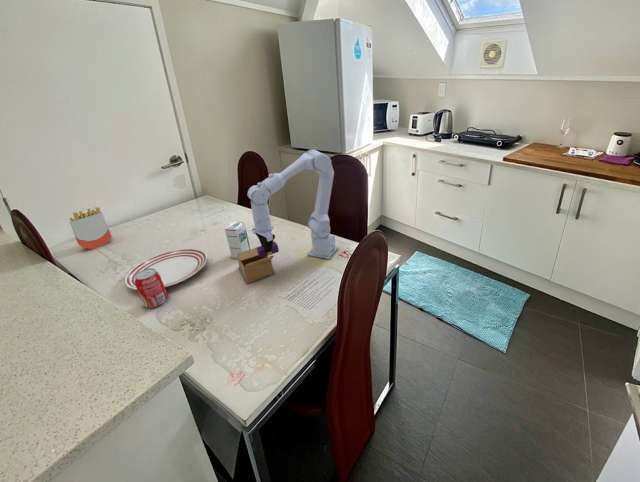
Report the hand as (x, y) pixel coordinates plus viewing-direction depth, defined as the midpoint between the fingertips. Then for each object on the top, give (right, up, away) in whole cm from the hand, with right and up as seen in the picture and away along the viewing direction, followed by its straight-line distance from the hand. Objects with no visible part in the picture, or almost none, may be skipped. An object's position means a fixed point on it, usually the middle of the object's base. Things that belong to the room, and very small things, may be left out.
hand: (267, 249), depth 119 cm
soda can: (-34, -16, -12) cm, 40 cm away
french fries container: (-86, -2, +23) cm, 89 cm away
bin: (-5, -9, +3) cm, 11 cm away
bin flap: (-1, -4, -6) cm, 7 cm away
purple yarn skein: (0, -1, +1) cm, 2 cm away
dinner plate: (-39, -10, +3) cm, 40 cm away
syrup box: (-16, -5, +14) cm, 22 cm away
